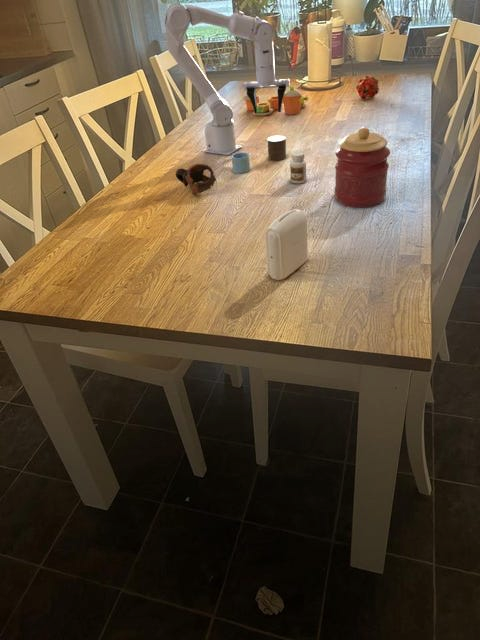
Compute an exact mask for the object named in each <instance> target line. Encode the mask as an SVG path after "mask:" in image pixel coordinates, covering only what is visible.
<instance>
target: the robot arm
mask: <svg viewBox="0 0 480 640" xmlns="http://www.w3.org/2000/svg"><path fill="white" fill-rule="evenodd" d="M190 24H191V27H194V26H197V25H198V24H205V25H206V24H207V25H211V26H215V27H219V28H222V29H223V28H224V29H227V31H228V32H229V34H230V35H231V36H233V37H237V38H242V39H245V40H248V41H253V40H254V61H255V76H256V80H252V81H251V80H250V81H244V82H243V83H242V90H243V91H246V95H248V97H249V98H250V100H251V102H252V105H253V108H254V111H253V112H254V114H255V115H256V114H257V112H258V108H257V100H256V96H257V90H259V89H272V88H273V89H274V88H277V91H276V92H277V96H278V109H277V111H278V113H281V112H282V108H281V105H282V106H283V104H282V100H283V96H284V93H285V92H286V91H287V88H290V87H291V86H290V85H291V84H290V82H291V81H290V78H276V70H275V51H274V39H275V36H276V31H274V30H275V28H274V26H273V25H272V24H271V23H270V22H268V21H266V20H265V19H263V18H260V17H259V16H255V17H253V16H249V15H245V13H244V12H243V11H240V10H239V11H238V12H234V13H232V14H231V15H226V14H224V13H220V12H217V11H214V10H210V9H207V8H205V7H202V6H198V5H192V4H191V5H190V4H184V5H183V4H181V3H178V2H175V3H172V4H171V5H169V6H168V7H167V10H166V14H165V18H164V27H165V29H164V30H165V38H166V39H165V40H166V47H167V48H166V49H167V51H168V52H169V53H170V55H171V57H172V58H173V59H174V60H175V62H176V63H177V65H178V66H179V67H180V69H181V70H182V71H183V73H184V74H185V76H186V78H188V80H189V81H190V82H191V84H192V85H193V87H194V89H195V90H196V91H197V92H198V94H199V95H200V97H201V98H202V100H203V101H204V102H205V104H206V105H207V107H208V109H209V110H210V113H211V115H212V120H211V121H209V122H207V124H206V125H205V127H204V136H205V144H206V150H205V152H206V153H211V154H216V155H225V156H230V155H232V154H234V153H235V152H236V151H238V150H239V149H241V148H242V146H241V145H237V144H236V134H235V123H234V119H233V117H234V112H233V109H232V108H231V106H230V104H229V102H228V100H227V99H225V98H223V97H222V96H220V94H219V93H218V92H217V90H216V89H215V88H214V86H213V85H212V83H211V82H210V81H209V79H208V78H207V76H206V75H205V73H204V72H203V71H202V69H201V68H200V66H199V65H198V63H197V62H196V60H195V59H194V58H193V56H192V55H191V54H190V52H189V51H188V49H187V48H186V46H185V39H186V33H187V31H188V29H189V27H190Z"/></svg>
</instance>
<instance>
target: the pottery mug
mask: <svg viewBox="0 0 480 640" xmlns="http://www.w3.org/2000/svg"><path fill="white" fill-rule="evenodd" d="M205 171H209V174H210V176H208V175H206V174H204V173H205ZM175 177H176V179H177V180H178V181H179V182H181V183H182V184H183V185H184V188H187V187H188V186H189V187H191V191H190V193H191V195H192V196H195V197H198V195H199V194H201V193H204V192H206V191H209V190H210V189H211V188H212V187H213V186H214V185H215V183H216V182H217V177H216V176H215V172H214V171H213V169H212V167H211V166H209V165H208V164H204V163H195V164H193V165H191V166H190V167H189V168H188V169H186V168H178V169H177V170H176V171H175Z"/></svg>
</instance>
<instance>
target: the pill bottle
mask: <svg viewBox="0 0 480 640" xmlns="http://www.w3.org/2000/svg"><path fill="white" fill-rule="evenodd" d="M289 169H290V171H289V172H290V173H289V175H290V182H291V183H293V184H302V183H305V182H307V162H306V160H305V152H304V151H293V152H292V153H291V161H290V163H289Z"/></svg>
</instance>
